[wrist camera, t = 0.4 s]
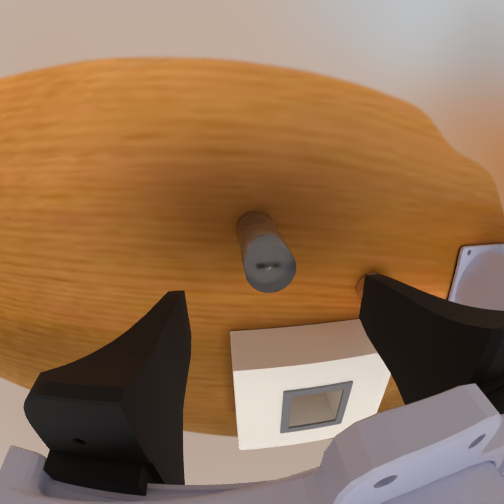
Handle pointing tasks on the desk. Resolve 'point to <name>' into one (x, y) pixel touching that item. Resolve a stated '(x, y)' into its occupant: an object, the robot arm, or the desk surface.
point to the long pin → (264, 253)
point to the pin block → (304, 382)
